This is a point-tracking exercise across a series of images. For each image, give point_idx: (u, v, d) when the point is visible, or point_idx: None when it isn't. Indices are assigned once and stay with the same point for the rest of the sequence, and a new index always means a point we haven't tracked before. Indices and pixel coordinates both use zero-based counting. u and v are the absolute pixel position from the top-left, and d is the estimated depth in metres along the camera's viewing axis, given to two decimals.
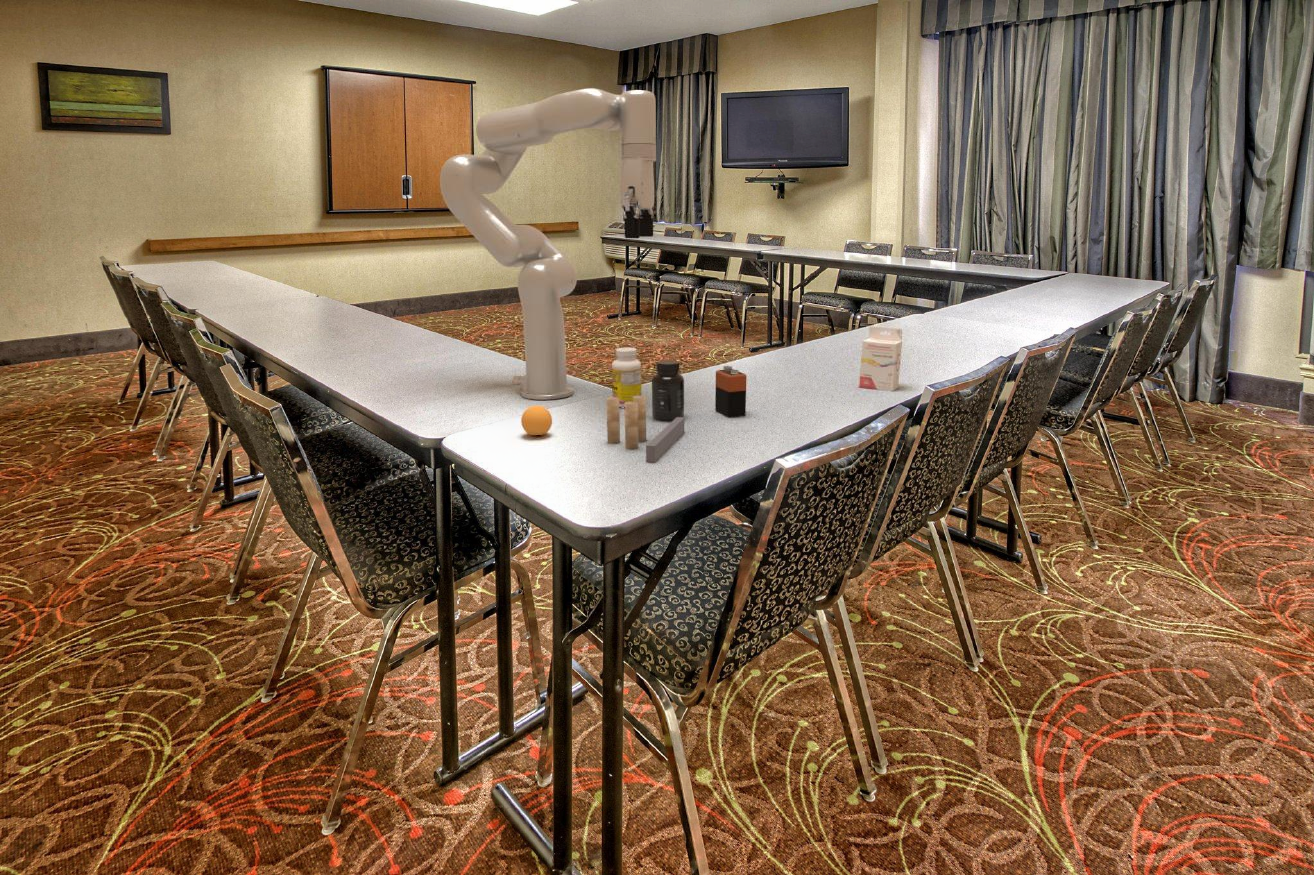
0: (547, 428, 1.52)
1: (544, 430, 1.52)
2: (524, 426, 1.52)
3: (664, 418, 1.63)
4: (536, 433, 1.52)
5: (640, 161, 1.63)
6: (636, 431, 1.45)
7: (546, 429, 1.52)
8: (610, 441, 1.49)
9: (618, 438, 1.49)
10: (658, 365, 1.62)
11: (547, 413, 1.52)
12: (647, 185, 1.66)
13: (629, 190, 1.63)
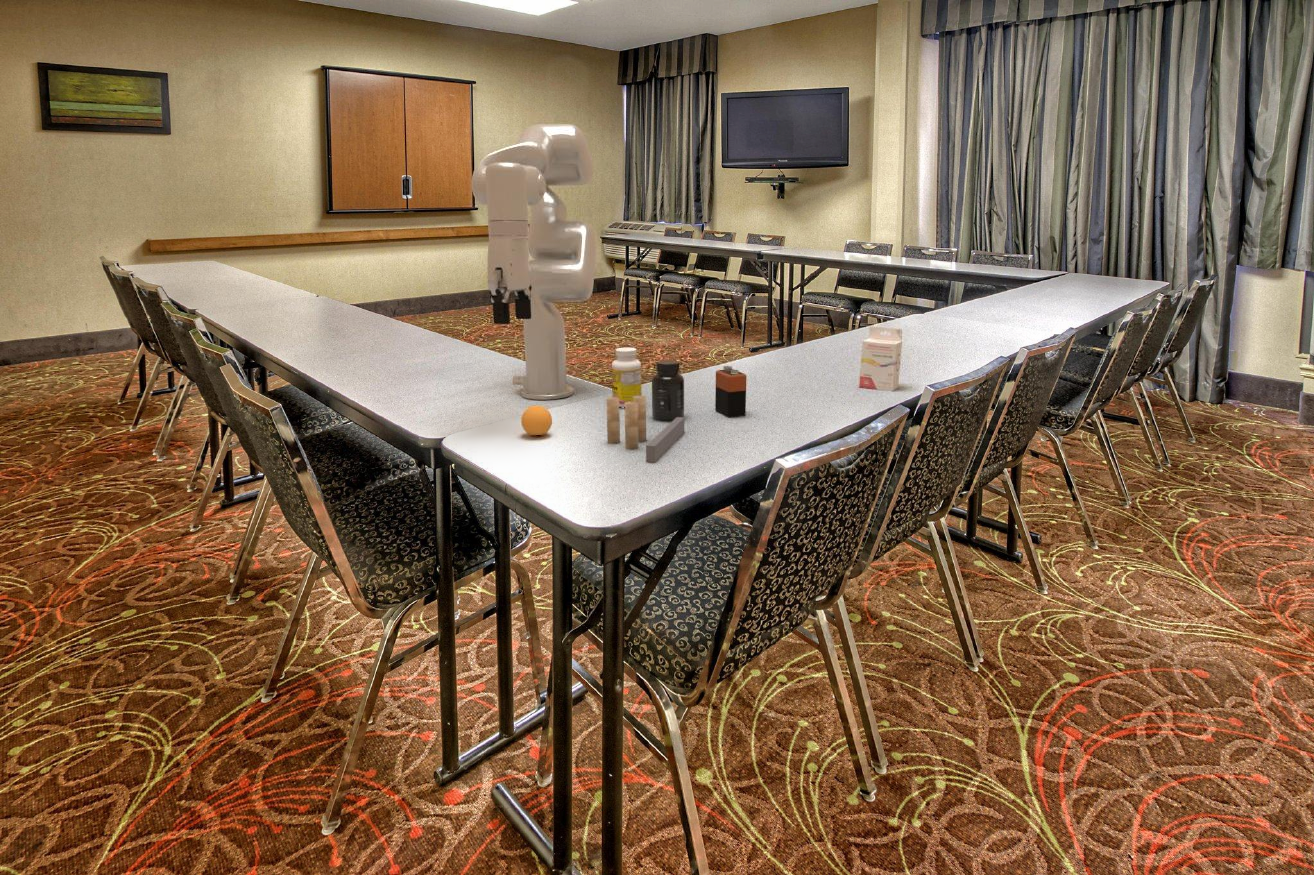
0: (547, 428, 1.52)
1: (544, 430, 1.52)
2: (524, 426, 1.52)
3: (664, 418, 1.63)
4: (536, 433, 1.52)
5: (508, 240, 1.46)
6: (636, 431, 1.45)
7: (546, 429, 1.52)
8: (610, 441, 1.49)
9: (618, 438, 1.49)
10: (658, 365, 1.62)
11: (547, 413, 1.52)
12: (518, 265, 1.49)
13: (496, 272, 1.46)
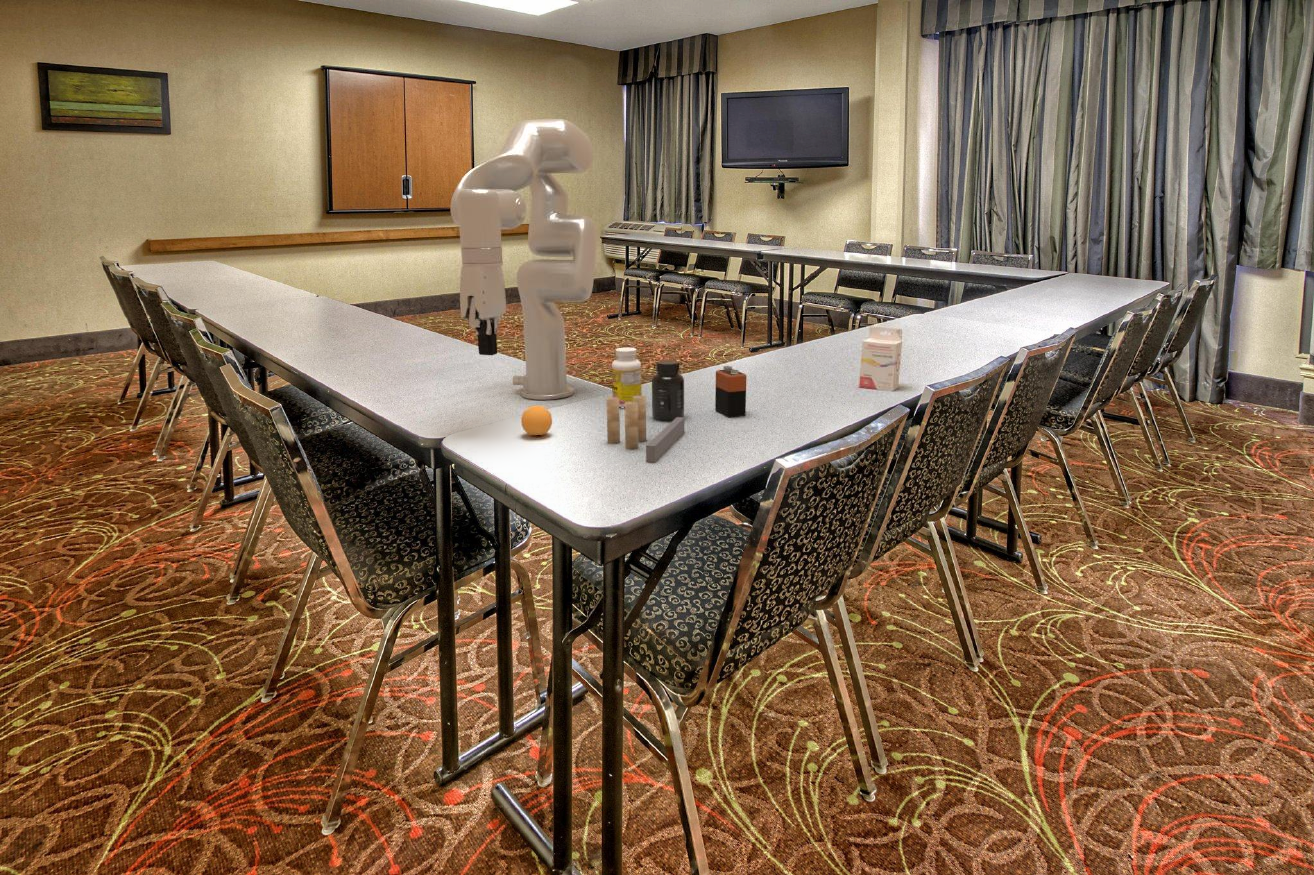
0: (547, 428, 1.52)
1: (544, 430, 1.52)
2: (524, 426, 1.52)
3: (664, 418, 1.63)
4: (536, 433, 1.52)
5: (480, 268, 1.44)
6: (636, 431, 1.45)
7: (546, 429, 1.52)
8: (610, 441, 1.49)
9: (618, 438, 1.49)
10: (658, 365, 1.62)
11: (547, 413, 1.52)
12: (492, 293, 1.47)
13: (472, 309, 1.45)
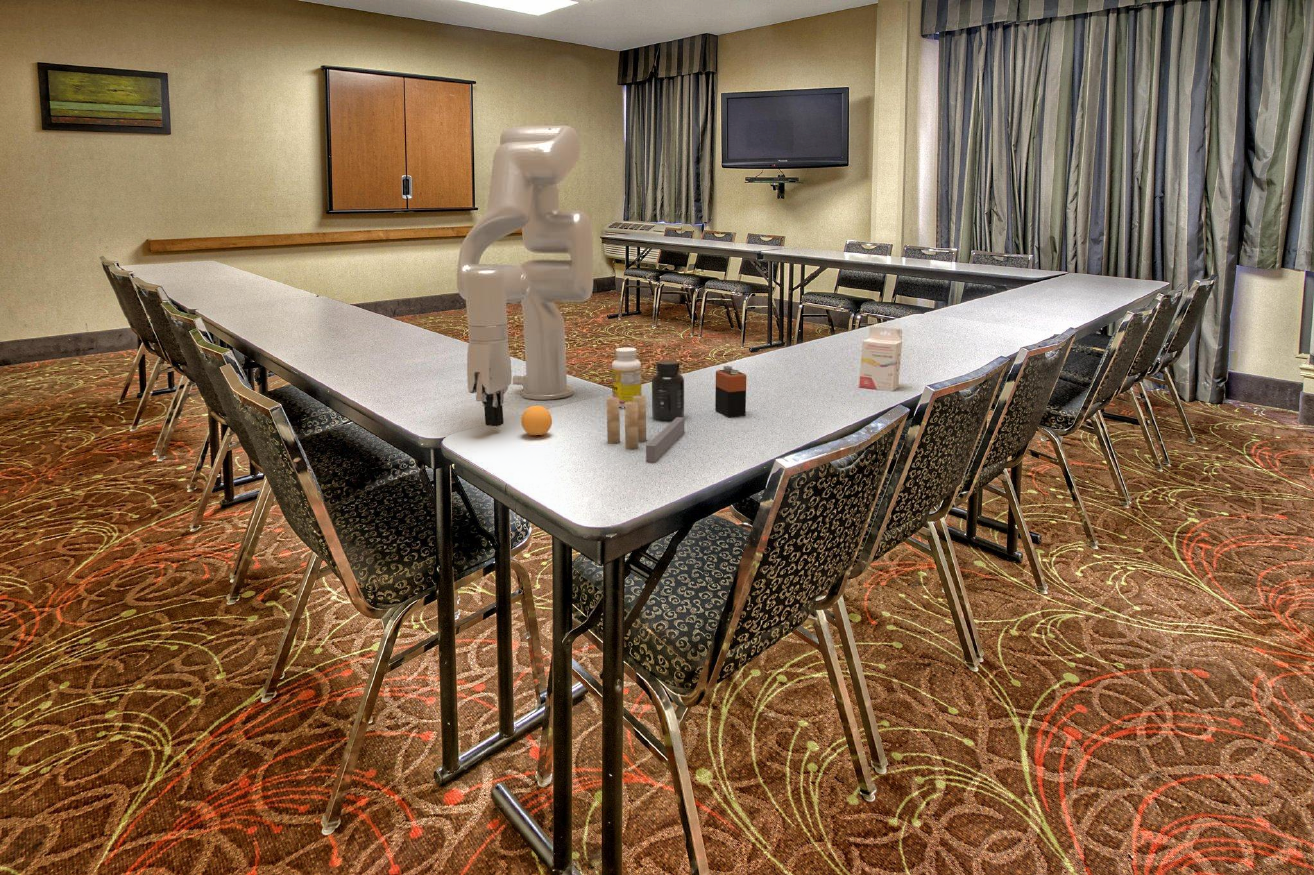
0: (547, 428, 1.52)
1: (544, 430, 1.52)
2: (524, 426, 1.52)
3: (664, 418, 1.63)
4: (536, 433, 1.52)
5: (486, 345, 1.48)
6: (636, 431, 1.45)
7: (546, 429, 1.52)
8: (610, 441, 1.49)
9: (618, 438, 1.49)
10: (658, 365, 1.62)
11: (547, 413, 1.52)
12: (498, 368, 1.51)
13: (479, 384, 1.50)
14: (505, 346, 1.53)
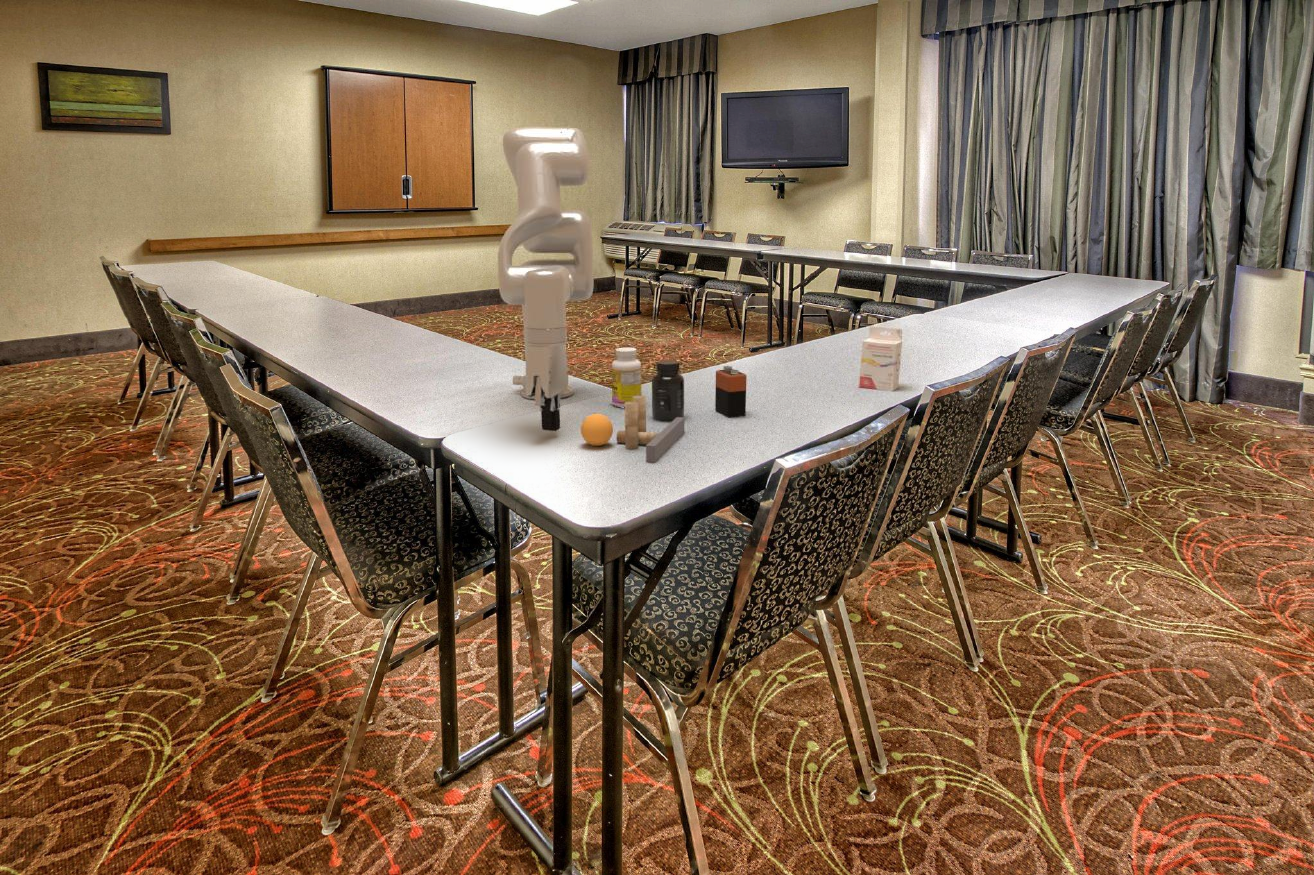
0: (591, 420, 1.45)
1: (592, 423, 1.44)
2: (596, 443, 1.46)
3: (664, 418, 1.63)
4: (596, 432, 1.44)
5: (546, 348, 1.44)
6: (636, 431, 1.45)
7: (592, 421, 1.44)
8: (618, 436, 1.48)
9: (622, 442, 1.49)
10: (658, 365, 1.62)
11: (583, 421, 1.47)
12: (556, 371, 1.48)
13: (538, 388, 1.46)
14: (563, 349, 1.50)
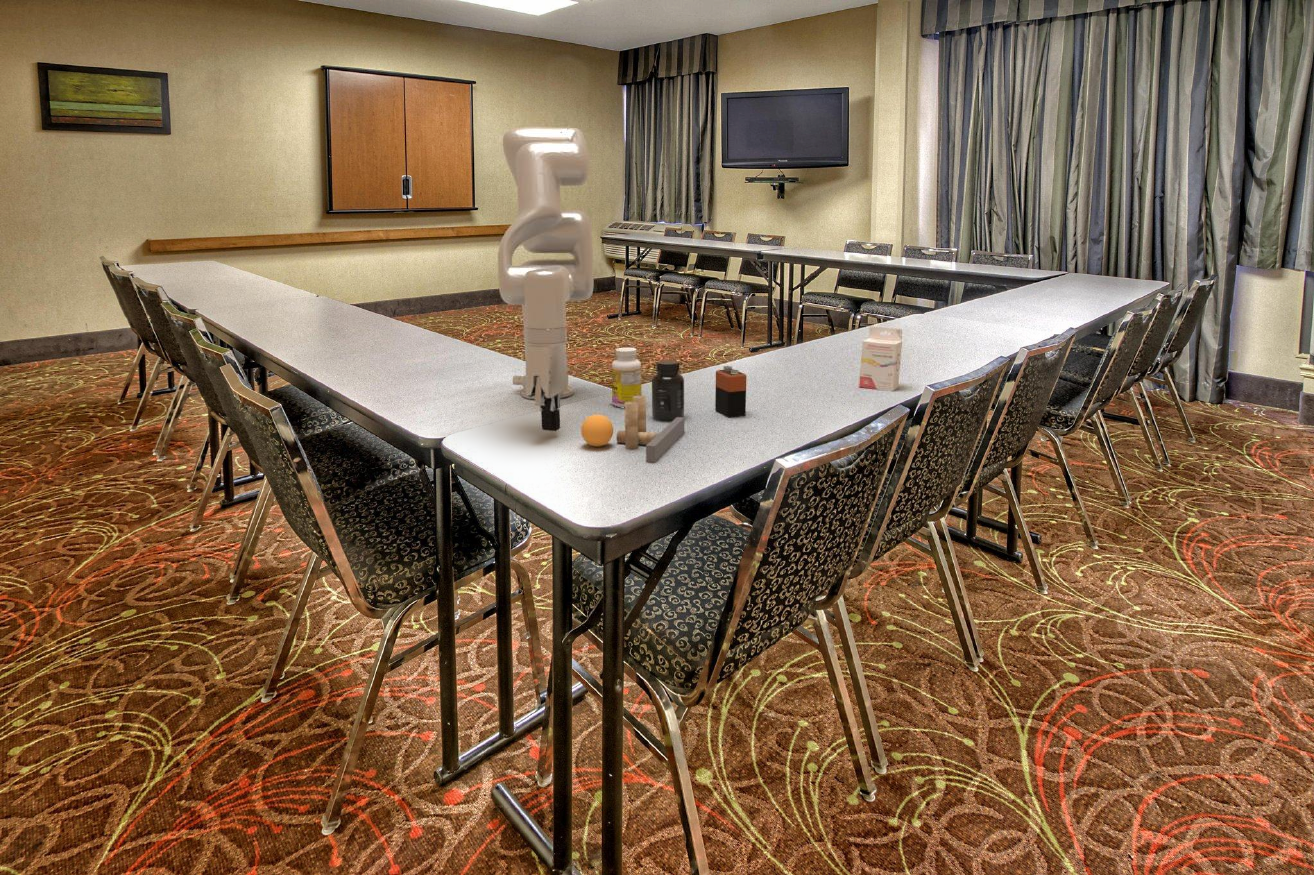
0: (592, 423, 1.44)
1: (593, 426, 1.44)
2: (596, 445, 1.46)
3: (664, 418, 1.63)
4: (596, 435, 1.44)
5: (546, 348, 1.44)
6: (636, 431, 1.45)
7: (592, 424, 1.44)
8: (618, 436, 1.48)
9: (622, 442, 1.49)
10: (658, 365, 1.62)
11: (584, 421, 1.46)
12: (556, 371, 1.48)
13: (538, 388, 1.46)
14: (563, 349, 1.50)
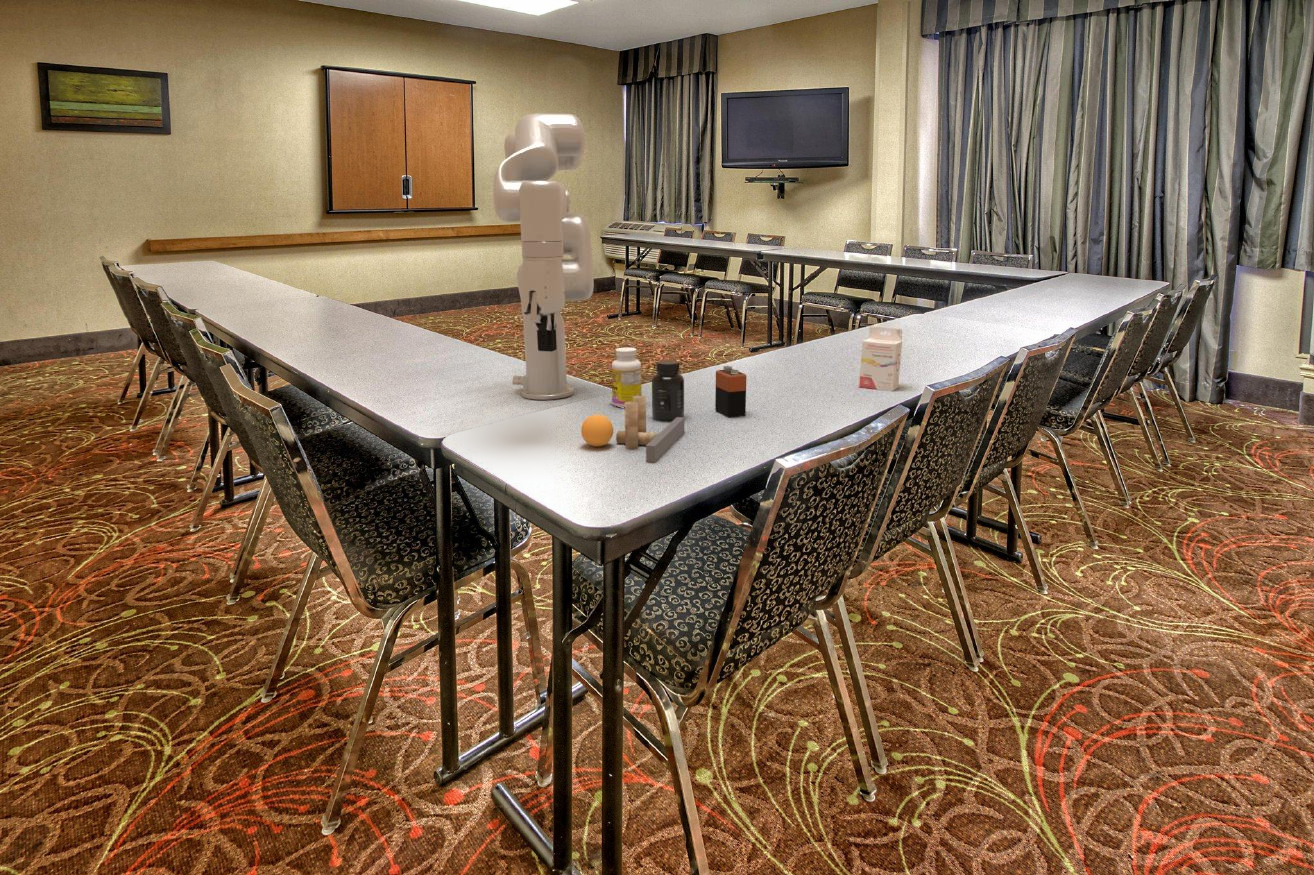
0: (592, 423, 1.44)
1: (593, 426, 1.44)
2: (596, 445, 1.46)
3: (664, 418, 1.63)
4: (596, 435, 1.44)
5: (542, 262, 1.40)
6: (636, 431, 1.45)
7: (592, 424, 1.44)
8: (618, 437, 1.48)
9: None
10: (658, 365, 1.62)
11: (584, 421, 1.46)
12: (553, 287, 1.43)
13: (533, 304, 1.42)
14: (559, 266, 1.46)
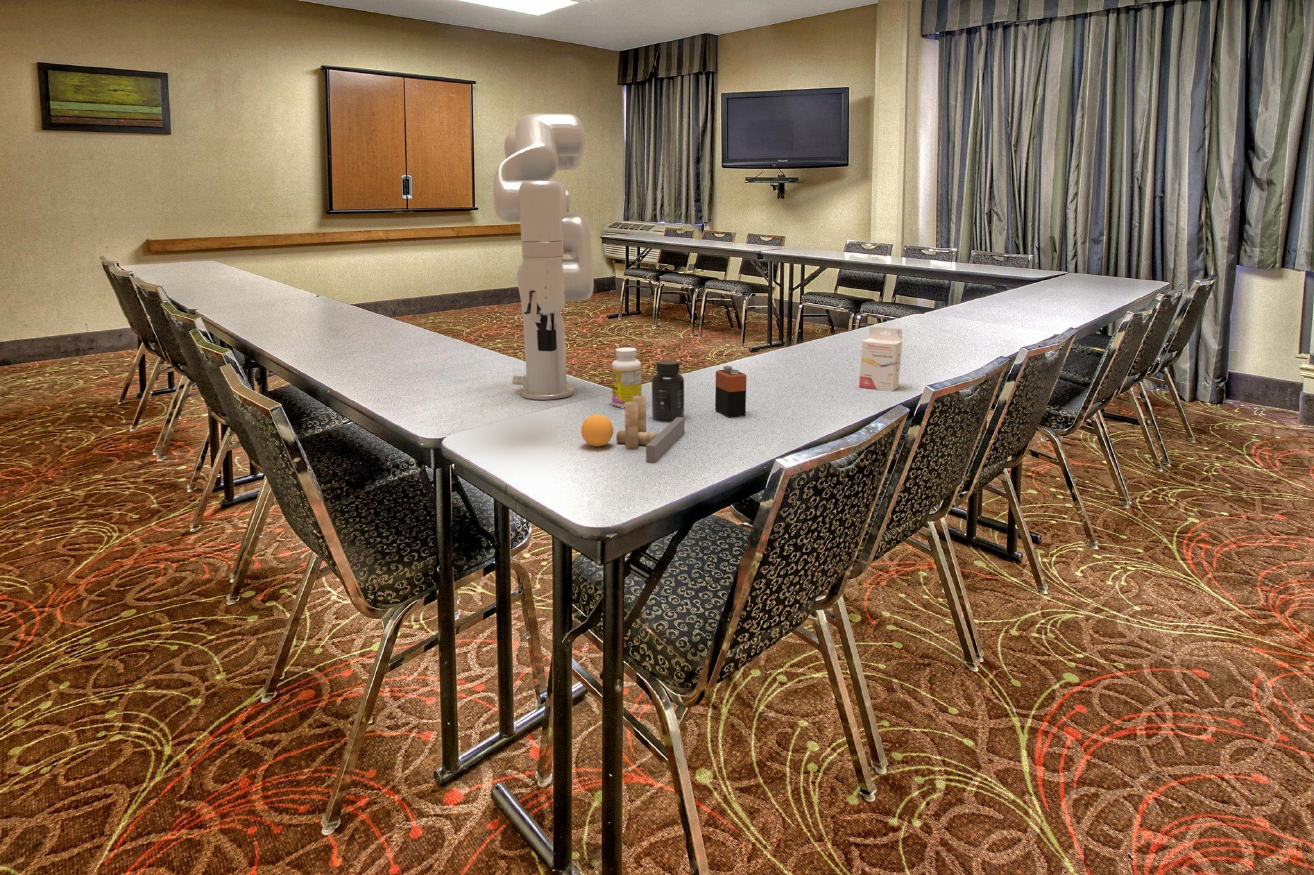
0: (592, 423, 1.44)
1: (593, 426, 1.44)
2: (596, 445, 1.46)
3: (664, 418, 1.63)
4: (596, 435, 1.44)
5: (542, 262, 1.40)
6: (636, 431, 1.45)
7: (592, 424, 1.44)
8: (618, 436, 1.48)
9: None
10: (658, 365, 1.62)
11: (584, 421, 1.46)
12: (553, 287, 1.43)
13: (533, 304, 1.42)
14: (559, 266, 1.46)
